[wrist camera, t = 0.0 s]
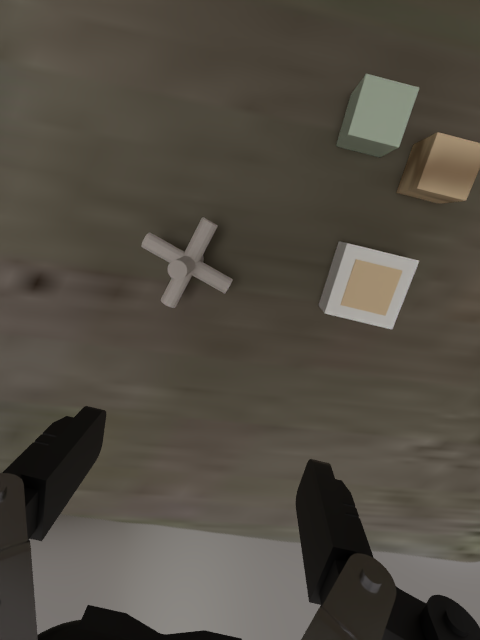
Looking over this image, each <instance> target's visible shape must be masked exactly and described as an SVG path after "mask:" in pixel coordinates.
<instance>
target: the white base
mask: <svg viewBox="0 0 480 640" xmlns="http://www.w3.org/2000/svg"><path fill="white" fill-rule="evenodd" d="M418 263H419V261H418V260H414V259H410V258H406V257H402V256H398V255H394V254H389V253H385V252H381V251H377V250H373V249H369V248H365V247H361V246H357V245H353V244H349V243H344V242H340V241H339V242H338V245H337V248H336V251H335V255H334V258H333V261H332V264H331V267H330V271H329V274H328V277H327V280H326V283H325V286H324V290H323V293H322V296H321V299H320V302H319V307H320V308H321V309H322V311H323V312H324V313H325V314H329V315H333V316H338V317H342V318H346V319H350V320H354V321H359V322H363V323H367V324H371V325H375V326H379V327H384V328H388V329H393V326H394V324H395V321H396V319H397V316H398V314H399V311H400V309H401V306H402V304H403V301H404V298H405V296H406V293H407V291H408V288H409V286H410V283H411V281H412V278H413V276H414V273H415V271H416V268H417V266H418Z"/></svg>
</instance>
